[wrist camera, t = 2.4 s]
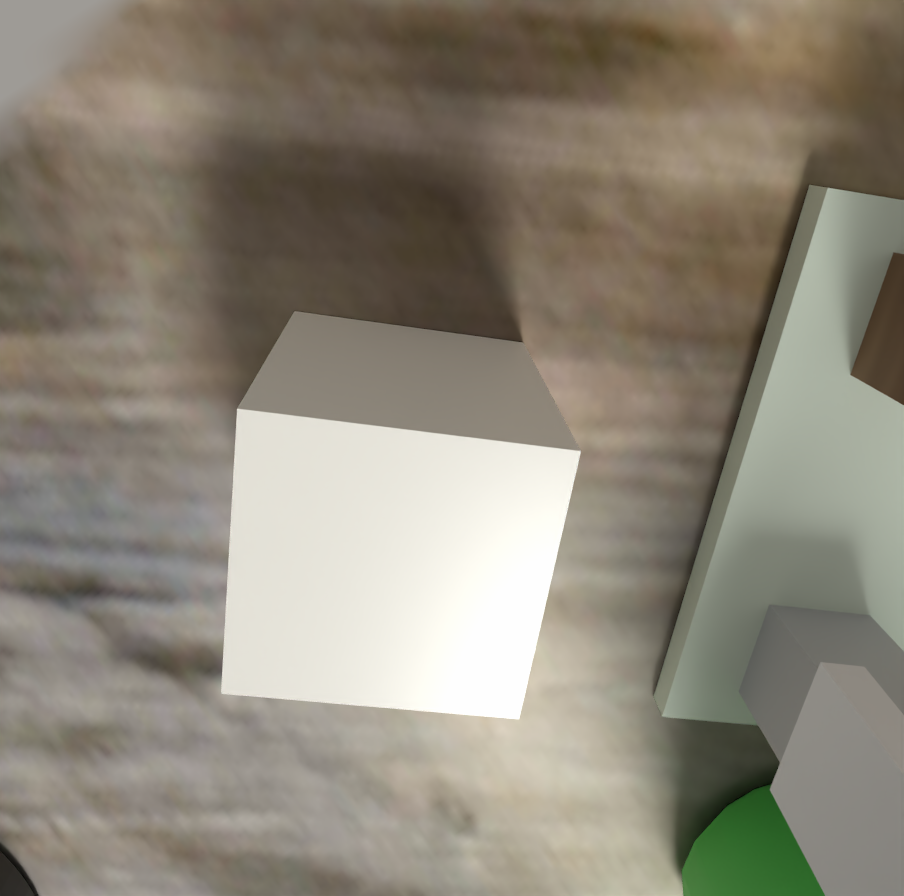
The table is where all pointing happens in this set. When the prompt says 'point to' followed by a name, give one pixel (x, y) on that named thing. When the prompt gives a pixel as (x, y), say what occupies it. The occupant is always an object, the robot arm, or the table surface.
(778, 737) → the rack
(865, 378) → the tall post
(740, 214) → the table surface
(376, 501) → the white square column
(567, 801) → the table surface
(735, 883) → the bottle
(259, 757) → the table surface
